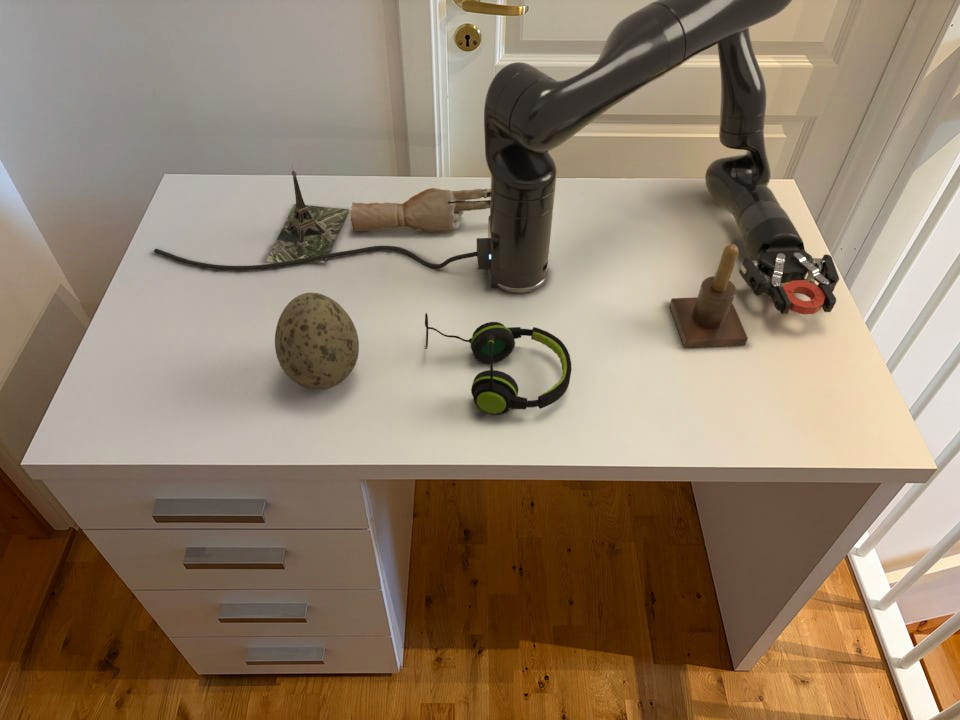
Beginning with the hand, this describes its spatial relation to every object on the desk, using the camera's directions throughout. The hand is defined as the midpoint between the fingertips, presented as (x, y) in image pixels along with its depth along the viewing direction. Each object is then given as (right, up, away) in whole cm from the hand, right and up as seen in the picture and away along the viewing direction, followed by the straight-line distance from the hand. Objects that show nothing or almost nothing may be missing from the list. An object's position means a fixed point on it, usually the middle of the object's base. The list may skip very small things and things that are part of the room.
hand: (808, 308), depth 104 cm
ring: (0, +2, +2) cm, 2 cm away
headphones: (-45, -10, -2) cm, 46 cm away
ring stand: (-13, -2, +5) cm, 14 cm away
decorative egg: (-69, -10, -3) cm, 69 cm away
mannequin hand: (-56, +15, +20) cm, 61 cm away
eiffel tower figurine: (-76, +13, +18) cm, 79 cm away
